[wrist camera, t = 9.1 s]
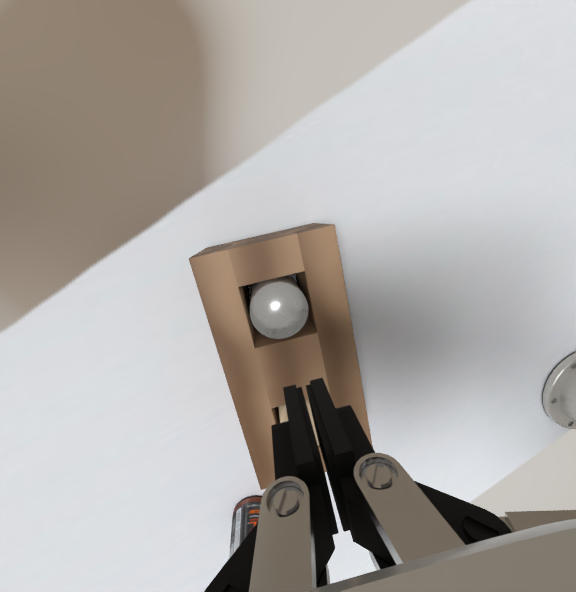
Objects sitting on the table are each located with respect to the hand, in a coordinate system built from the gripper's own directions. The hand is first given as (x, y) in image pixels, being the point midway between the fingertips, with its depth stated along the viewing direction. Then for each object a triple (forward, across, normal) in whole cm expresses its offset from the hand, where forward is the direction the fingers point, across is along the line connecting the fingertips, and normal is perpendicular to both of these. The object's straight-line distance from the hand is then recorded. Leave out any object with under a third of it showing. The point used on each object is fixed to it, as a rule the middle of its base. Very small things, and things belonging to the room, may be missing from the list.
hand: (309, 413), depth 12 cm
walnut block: (+23, 0, +6) cm, 24 cm away
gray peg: (+23, 0, 0) cm, 23 cm away
